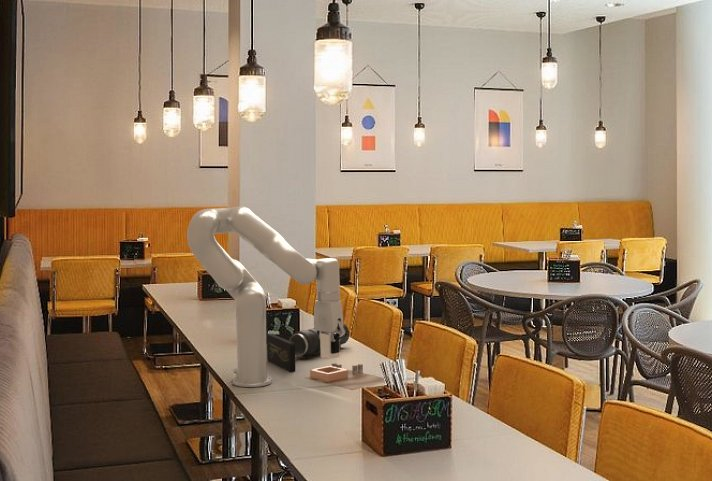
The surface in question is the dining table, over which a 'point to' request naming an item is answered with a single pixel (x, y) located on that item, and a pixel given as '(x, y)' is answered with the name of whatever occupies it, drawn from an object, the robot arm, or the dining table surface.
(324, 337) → the white rectangular block
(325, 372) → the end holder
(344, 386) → the board
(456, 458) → the dining table surface
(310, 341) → the muzzle brake
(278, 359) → the nameplate
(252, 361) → the robot arm
